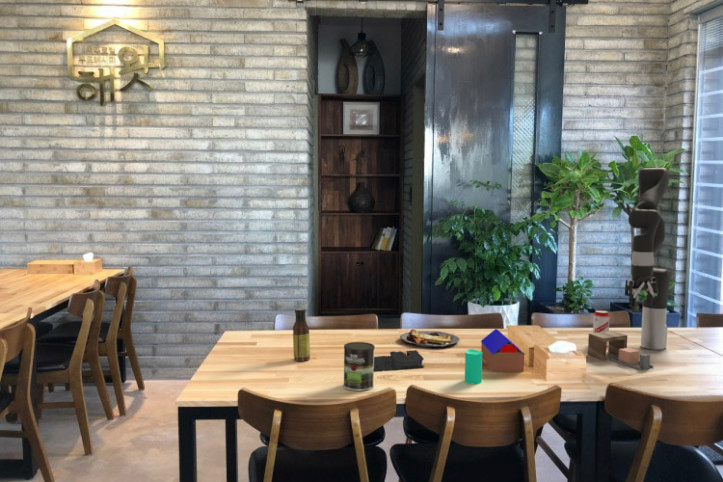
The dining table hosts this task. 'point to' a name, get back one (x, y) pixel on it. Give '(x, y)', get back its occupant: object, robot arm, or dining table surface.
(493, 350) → the house
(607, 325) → the beer can
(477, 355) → the candle
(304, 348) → the sauce bottle
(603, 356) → the tunnel
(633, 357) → the block
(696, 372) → the dining table surface
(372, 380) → the coffee can
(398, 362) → the dark slate chunk
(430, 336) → the food plate
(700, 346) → the dining table surface
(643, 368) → the sled
